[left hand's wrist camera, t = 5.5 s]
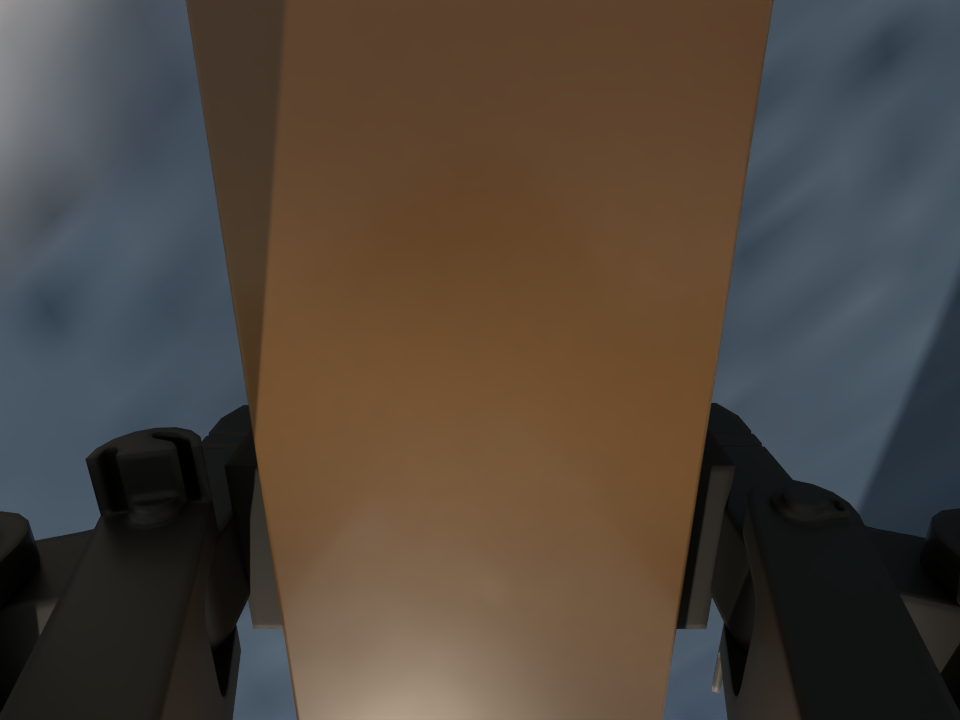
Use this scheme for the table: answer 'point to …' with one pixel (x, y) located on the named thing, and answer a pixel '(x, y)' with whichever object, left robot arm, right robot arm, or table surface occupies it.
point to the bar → (479, 331)
